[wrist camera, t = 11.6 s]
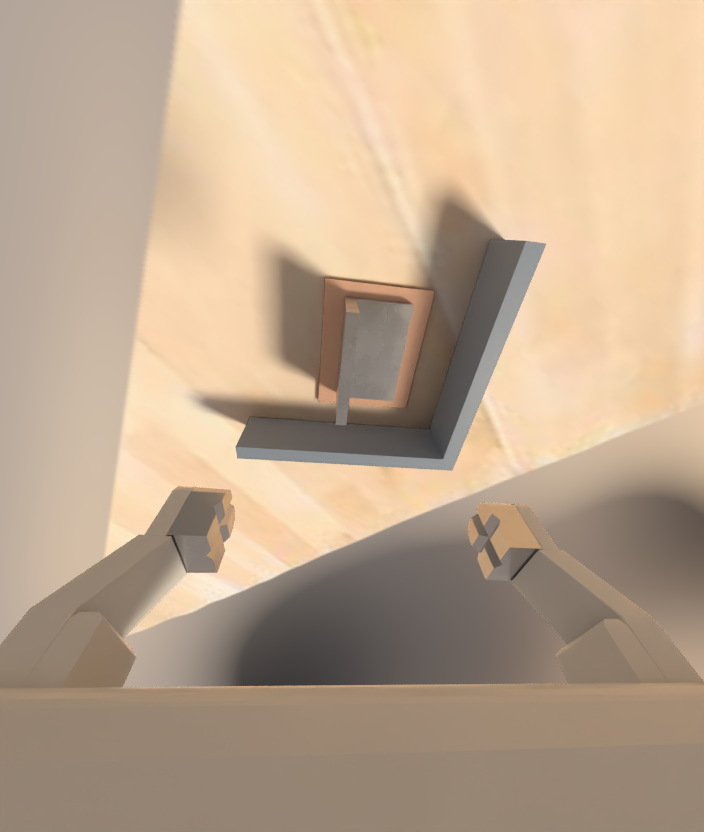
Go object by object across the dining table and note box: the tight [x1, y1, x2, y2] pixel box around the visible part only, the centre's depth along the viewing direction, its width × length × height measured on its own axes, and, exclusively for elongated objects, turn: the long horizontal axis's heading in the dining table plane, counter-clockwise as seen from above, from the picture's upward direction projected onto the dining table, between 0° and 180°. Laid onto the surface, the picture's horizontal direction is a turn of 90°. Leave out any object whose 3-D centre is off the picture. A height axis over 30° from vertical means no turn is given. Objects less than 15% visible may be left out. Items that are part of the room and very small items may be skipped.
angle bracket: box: [335, 296, 414, 425], centre depth 21 cm, size 8×5×5 cm, turn 174°
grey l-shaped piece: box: [236, 239, 546, 470], centre depth 21 cm, size 17×18×4 cm
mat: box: [318, 278, 435, 408], centre depth 23 cm, size 10×8×1 cm
